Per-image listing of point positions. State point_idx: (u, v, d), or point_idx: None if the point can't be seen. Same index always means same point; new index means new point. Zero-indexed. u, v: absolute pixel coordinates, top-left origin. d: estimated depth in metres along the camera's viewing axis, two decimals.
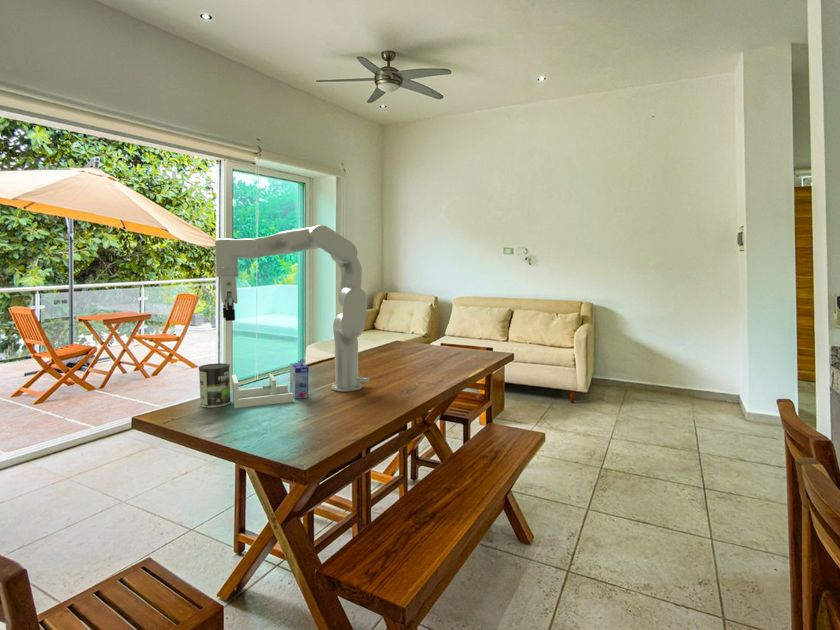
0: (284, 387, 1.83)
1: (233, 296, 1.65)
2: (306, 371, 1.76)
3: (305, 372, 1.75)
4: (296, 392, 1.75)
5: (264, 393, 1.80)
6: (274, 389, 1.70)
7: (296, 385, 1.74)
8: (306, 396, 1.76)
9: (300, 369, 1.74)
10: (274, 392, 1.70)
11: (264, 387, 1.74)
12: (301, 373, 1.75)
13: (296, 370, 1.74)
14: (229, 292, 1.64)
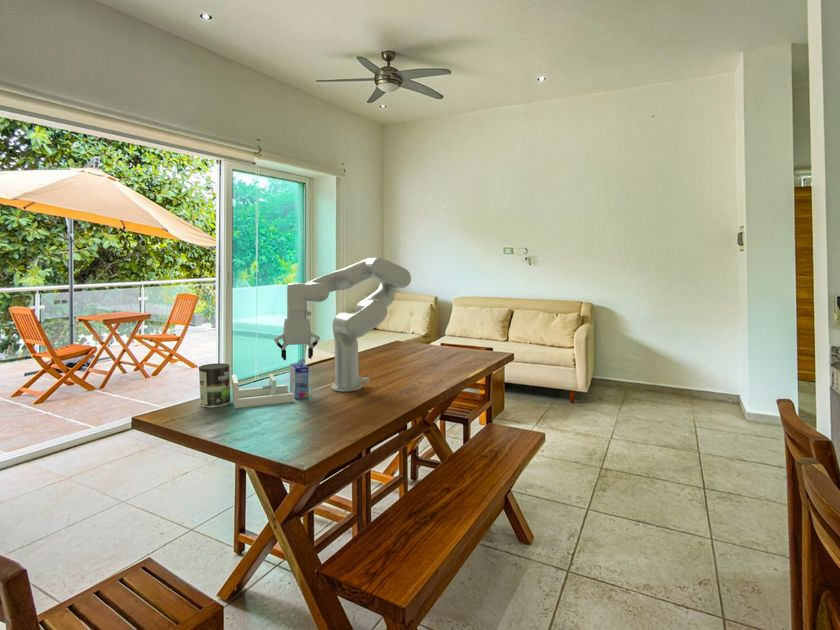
0: (284, 387, 1.83)
1: None
2: (306, 371, 1.76)
3: (305, 372, 1.75)
4: (296, 392, 1.75)
5: (264, 393, 1.80)
6: (274, 389, 1.70)
7: (296, 385, 1.74)
8: (306, 396, 1.76)
9: (300, 369, 1.74)
10: (274, 392, 1.70)
11: (264, 387, 1.74)
12: (301, 373, 1.75)
13: (296, 370, 1.74)
14: (310, 332, 1.80)
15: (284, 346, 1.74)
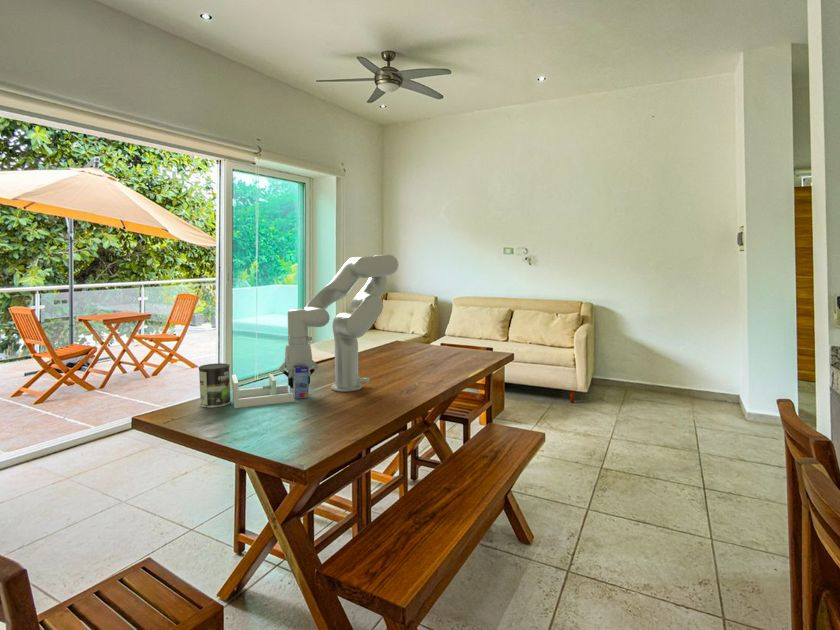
0: (284, 387, 1.83)
1: None
2: (306, 371, 1.75)
3: (305, 372, 1.75)
4: (296, 392, 1.75)
5: (264, 393, 1.80)
6: (274, 389, 1.70)
7: (296, 385, 1.74)
8: (306, 396, 1.76)
9: (300, 369, 1.74)
10: (274, 392, 1.70)
11: (264, 387, 1.74)
12: (301, 373, 1.75)
13: (296, 370, 1.74)
14: None
15: (291, 374, 1.77)
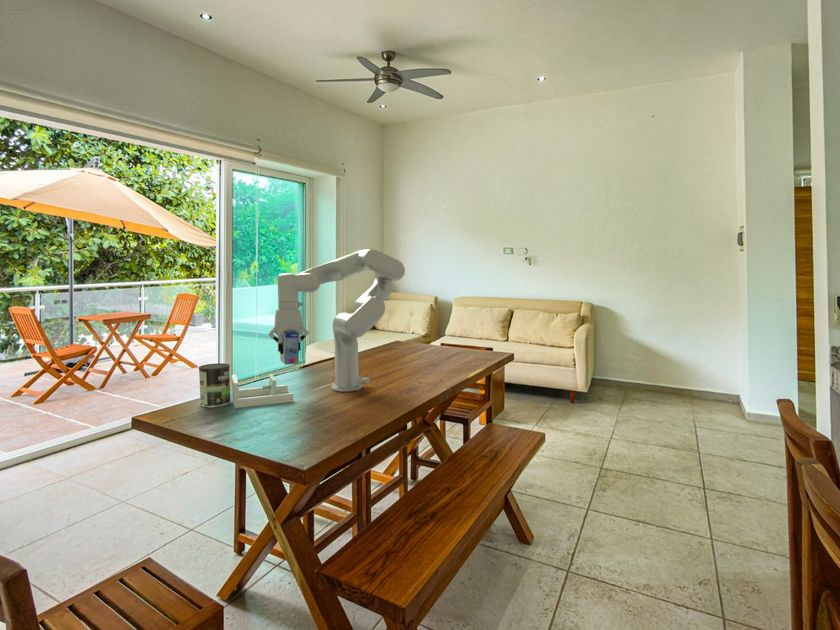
0: (284, 387, 1.83)
1: None
2: (296, 336, 1.73)
3: (295, 338, 1.72)
4: (286, 357, 1.72)
5: (264, 393, 1.80)
6: (274, 389, 1.70)
7: (286, 350, 1.72)
8: (296, 362, 1.74)
9: (290, 334, 1.72)
10: (274, 392, 1.70)
11: (264, 387, 1.74)
12: (291, 338, 1.72)
13: (286, 335, 1.71)
14: None
15: (280, 340, 1.74)
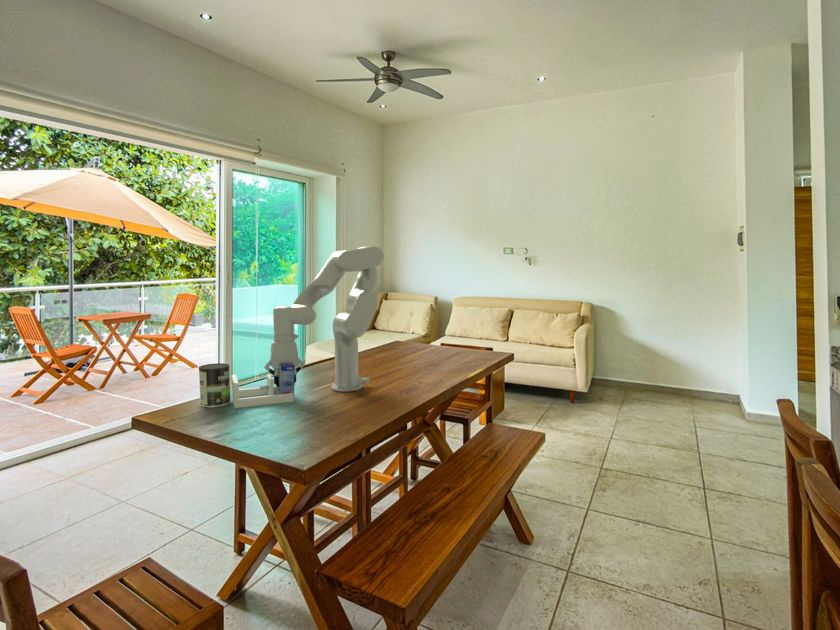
0: None
1: None
2: (292, 369, 1.73)
3: (290, 371, 1.73)
4: (282, 390, 1.72)
5: (264, 393, 1.80)
6: (272, 389, 1.70)
7: (282, 383, 1.72)
8: None
9: (286, 367, 1.72)
10: (272, 392, 1.70)
11: (262, 387, 1.73)
12: (287, 371, 1.72)
13: (282, 368, 1.71)
14: None
15: (276, 372, 1.74)
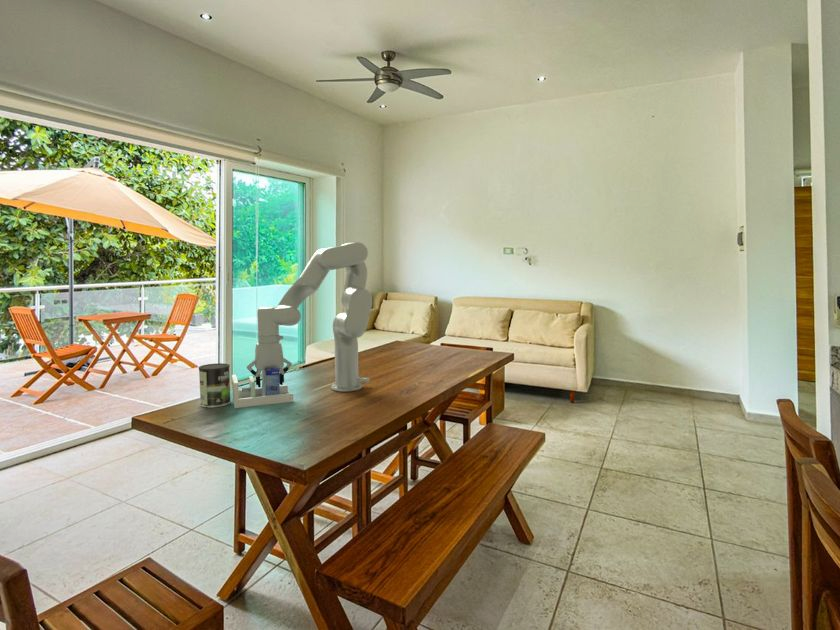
0: (284, 387, 1.83)
1: None
2: (277, 374, 1.71)
3: (276, 375, 1.71)
4: (267, 395, 1.70)
5: None
6: (253, 391, 1.67)
7: (266, 388, 1.70)
8: None
9: (271, 371, 1.70)
10: (253, 394, 1.67)
11: (243, 389, 1.71)
12: (272, 376, 1.70)
13: (266, 373, 1.69)
14: None
15: (258, 373, 1.71)
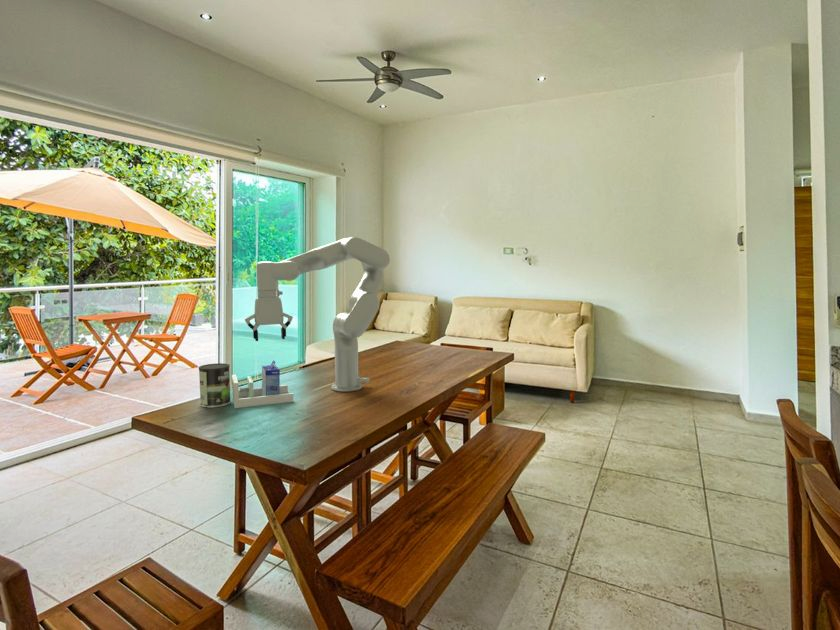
0: (284, 387, 1.83)
1: None
2: (277, 374, 1.71)
3: (276, 375, 1.71)
4: (267, 395, 1.70)
5: None
6: (251, 391, 1.67)
7: (267, 388, 1.70)
8: None
9: (271, 371, 1.70)
10: (251, 394, 1.67)
11: (241, 389, 1.70)
12: (272, 376, 1.70)
13: (266, 373, 1.69)
14: (282, 312, 1.76)
15: (255, 327, 1.71)
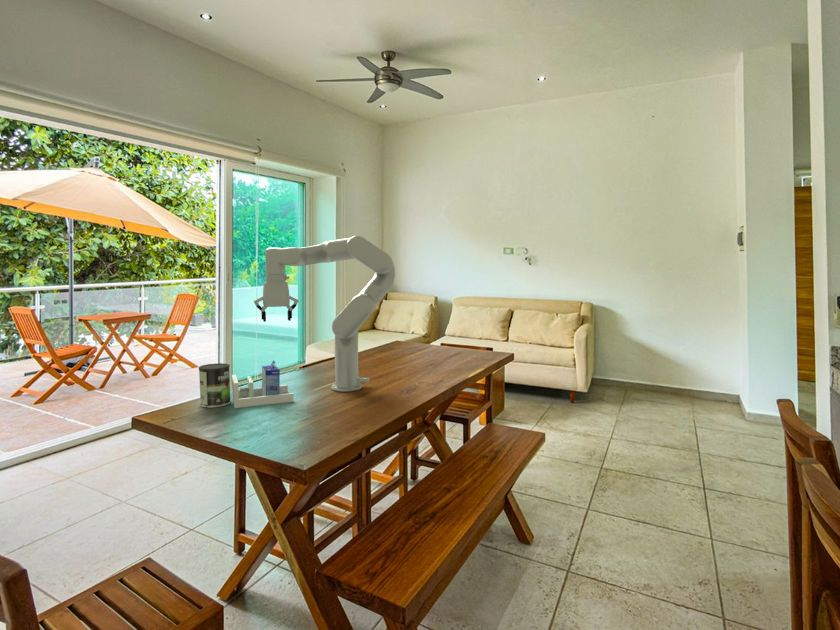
0: (284, 387, 1.83)
1: None
2: (277, 374, 1.71)
3: (276, 375, 1.71)
4: (267, 395, 1.70)
5: None
6: (251, 391, 1.67)
7: (267, 388, 1.70)
8: None
9: (271, 371, 1.70)
10: (251, 394, 1.67)
11: (241, 389, 1.70)
12: (272, 376, 1.70)
13: (266, 373, 1.69)
14: None
15: (264, 308, 1.83)
